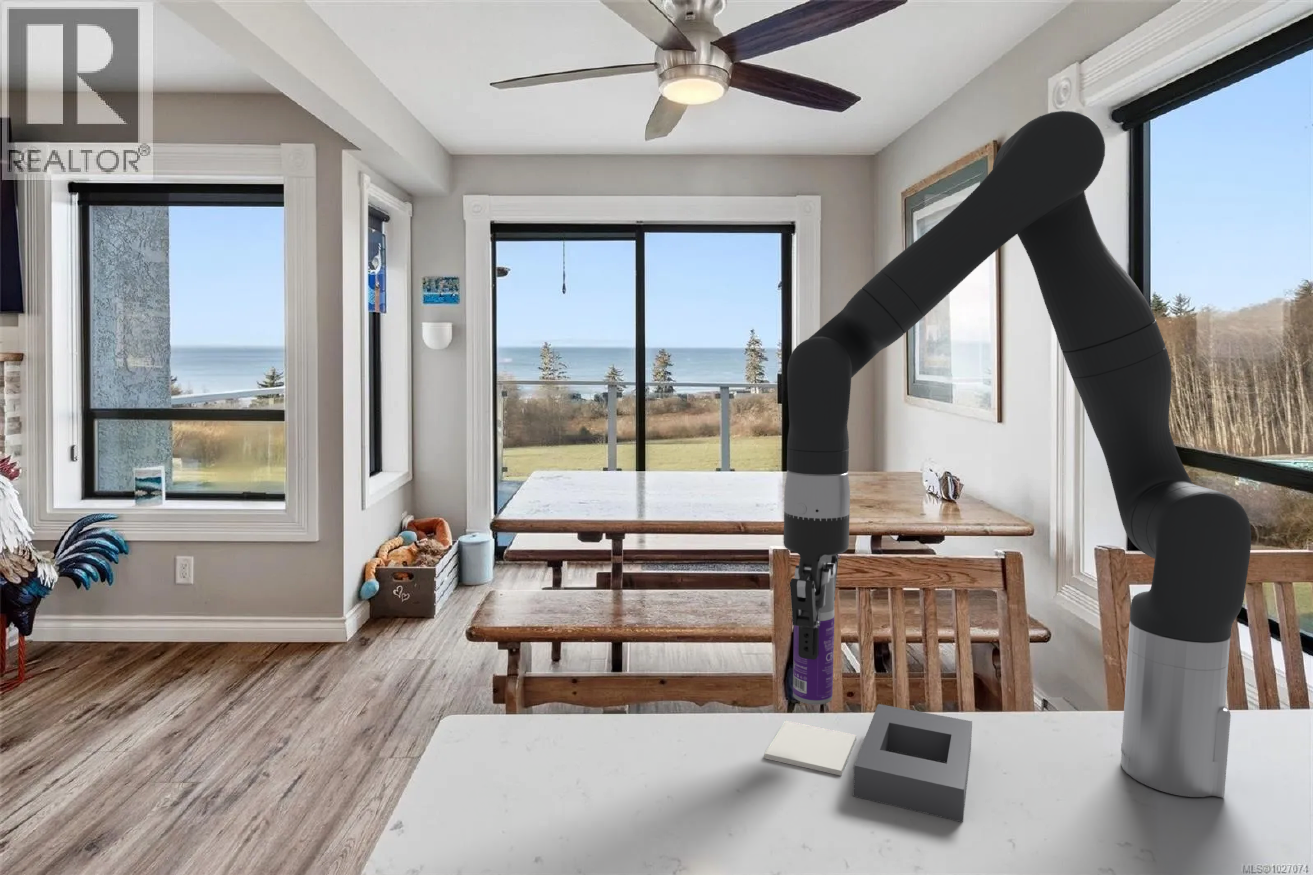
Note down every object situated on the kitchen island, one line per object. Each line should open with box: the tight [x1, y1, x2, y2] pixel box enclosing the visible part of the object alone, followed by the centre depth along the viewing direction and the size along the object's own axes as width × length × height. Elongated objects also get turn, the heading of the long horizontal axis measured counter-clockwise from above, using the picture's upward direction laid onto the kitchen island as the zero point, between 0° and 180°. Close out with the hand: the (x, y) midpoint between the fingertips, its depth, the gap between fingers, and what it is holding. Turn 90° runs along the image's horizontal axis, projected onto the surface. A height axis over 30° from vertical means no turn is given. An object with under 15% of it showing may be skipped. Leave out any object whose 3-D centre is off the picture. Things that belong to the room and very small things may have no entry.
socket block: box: [852, 703, 973, 823], centre depth 87 cm, size 11×16×4 cm
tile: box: [764, 720, 857, 776], centre depth 92 cm, size 9×9×1 cm
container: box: [792, 574, 835, 706], centre depth 90 cm, size 5×5×15 cm
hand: (813, 649), depth 91 cm, fingers closed on container, 4 cm apart
